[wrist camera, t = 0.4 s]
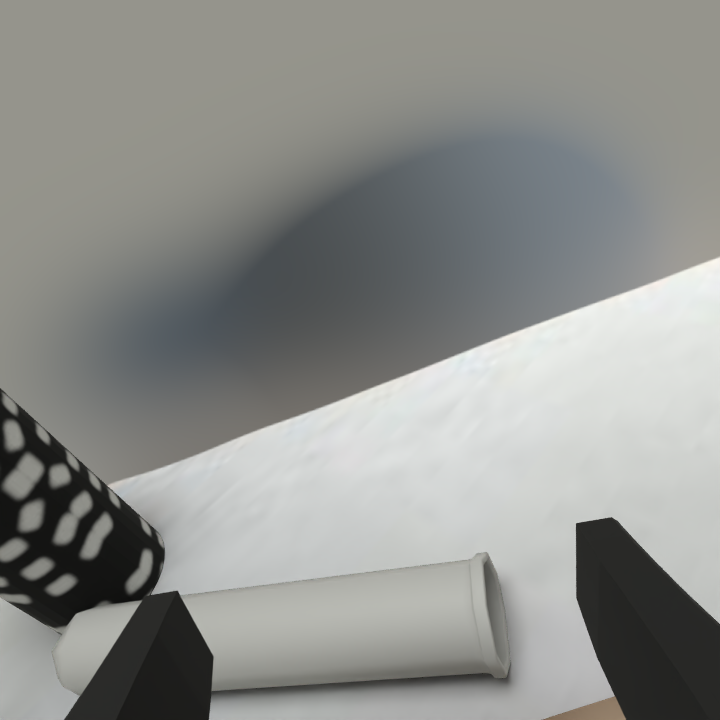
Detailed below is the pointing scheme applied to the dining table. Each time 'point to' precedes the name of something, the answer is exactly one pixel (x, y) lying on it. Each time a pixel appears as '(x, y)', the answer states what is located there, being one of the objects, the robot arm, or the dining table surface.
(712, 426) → the dining table surface
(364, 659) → the tube
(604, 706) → the base board
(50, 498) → the white-spotted black cylinder
